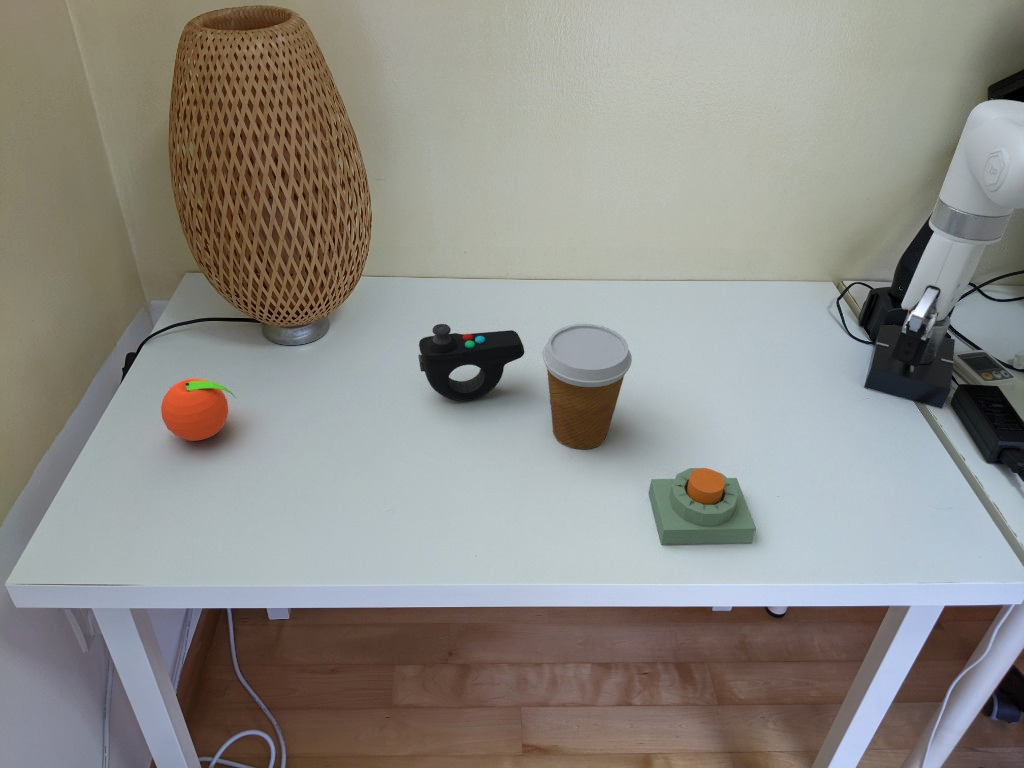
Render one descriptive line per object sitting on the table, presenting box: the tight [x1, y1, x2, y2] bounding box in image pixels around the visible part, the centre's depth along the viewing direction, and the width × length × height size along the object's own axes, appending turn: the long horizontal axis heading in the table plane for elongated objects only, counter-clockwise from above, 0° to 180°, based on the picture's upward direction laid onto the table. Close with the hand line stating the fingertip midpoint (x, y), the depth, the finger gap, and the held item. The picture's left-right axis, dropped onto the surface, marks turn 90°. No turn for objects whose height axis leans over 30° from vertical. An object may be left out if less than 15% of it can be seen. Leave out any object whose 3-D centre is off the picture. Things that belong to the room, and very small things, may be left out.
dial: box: [894, 307, 952, 364], centre depth 96 cm, size 5×5×6 cm
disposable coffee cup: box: [542, 323, 633, 450], centre depth 86 cm, size 10×10×12 cm
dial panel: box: [863, 324, 956, 410], centre depth 98 cm, size 12×9×3 cm
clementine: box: [160, 377, 237, 442], centre depth 86 cm, size 8×7×7 cm
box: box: [648, 467, 757, 546], centre depth 78 cm, size 9×7×4 cm
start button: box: [687, 467, 725, 505], centre depth 76 cm, size 3×3×2 cm
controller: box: [418, 323, 525, 401], centre depth 91 cm, size 4×12×10 cm, turn 102°
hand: (917, 344), depth 97 cm, fingers open, 9 cm apart
